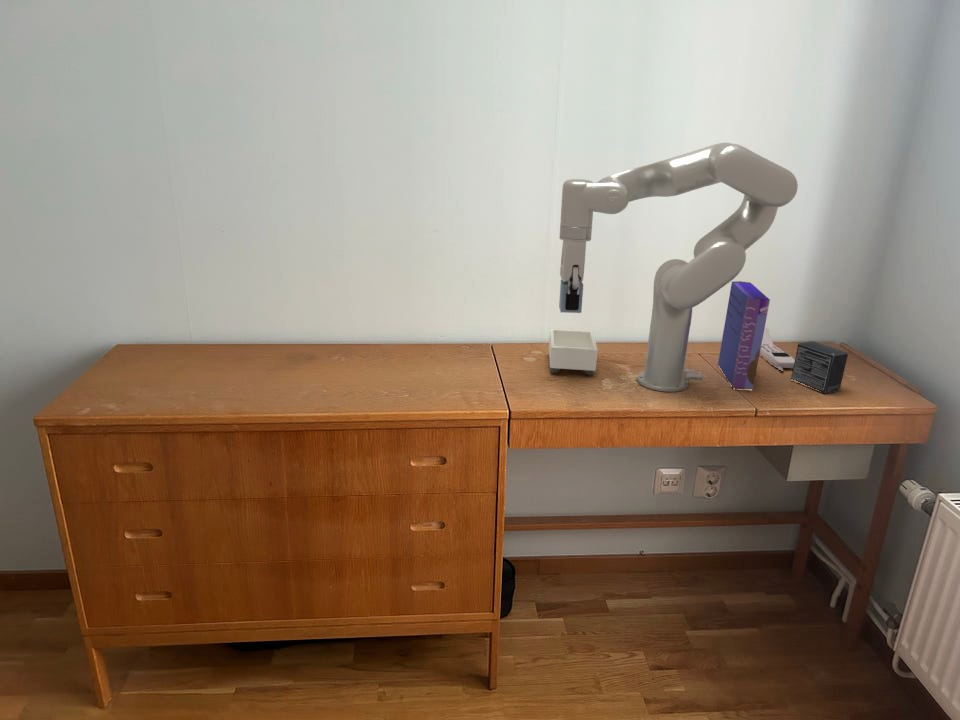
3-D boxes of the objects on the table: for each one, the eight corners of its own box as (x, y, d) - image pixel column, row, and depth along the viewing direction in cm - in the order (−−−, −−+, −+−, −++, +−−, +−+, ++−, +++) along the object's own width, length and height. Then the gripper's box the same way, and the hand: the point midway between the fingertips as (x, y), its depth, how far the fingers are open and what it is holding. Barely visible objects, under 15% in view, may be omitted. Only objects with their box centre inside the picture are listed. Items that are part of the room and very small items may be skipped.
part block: (579, 307, 174) (581, 280, 172) (581, 312, 170) (583, 284, 167) (559, 306, 175) (560, 279, 172) (560, 312, 170) (562, 284, 167)
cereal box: (752, 391, 175) (770, 298, 166) (733, 390, 175) (749, 297, 167) (735, 367, 191) (750, 281, 183) (717, 365, 191) (732, 280, 183)
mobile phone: (766, 325, 210) (803, 353, 186) (763, 344, 212) (799, 374, 188) (746, 325, 209) (781, 352, 186) (743, 344, 212) (777, 373, 188)
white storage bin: (590, 357, 192) (592, 331, 190) (594, 377, 178) (597, 350, 175) (548, 354, 193) (550, 329, 190) (549, 374, 178) (551, 347, 176)
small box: (841, 391, 177) (850, 352, 174) (825, 395, 174) (834, 356, 170) (805, 377, 186) (813, 339, 182) (789, 380, 183) (797, 343, 179)
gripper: (557, 226, 174) (552, 297, 180) (562, 239, 158) (558, 316, 164) (587, 227, 174) (581, 298, 180) (596, 239, 158) (589, 316, 164)
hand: (570, 305), depth 172 cm, fingers closed on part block, 5 cm apart
